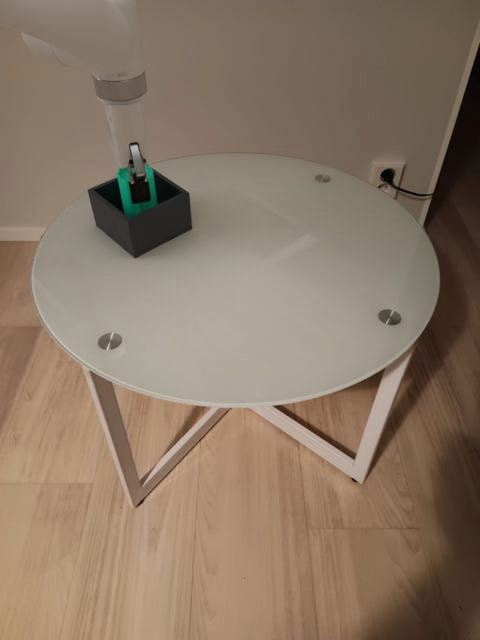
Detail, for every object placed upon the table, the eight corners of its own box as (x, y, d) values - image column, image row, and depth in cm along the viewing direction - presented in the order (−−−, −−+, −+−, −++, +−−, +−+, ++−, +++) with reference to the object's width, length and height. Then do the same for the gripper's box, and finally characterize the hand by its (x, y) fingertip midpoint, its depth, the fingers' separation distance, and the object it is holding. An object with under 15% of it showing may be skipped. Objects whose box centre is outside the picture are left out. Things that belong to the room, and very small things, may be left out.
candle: (120, 229, 91) (108, 168, 83) (137, 211, 95) (127, 151, 87) (149, 237, 90) (140, 176, 81) (165, 218, 94) (158, 158, 85)
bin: (134, 258, 87) (127, 221, 82) (95, 225, 94) (87, 189, 88) (192, 228, 93) (189, 192, 87) (152, 199, 99) (147, 164, 94)
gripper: (86, 66, 79) (107, 170, 92) (103, 112, 68) (125, 223, 81) (134, 60, 81) (148, 163, 94) (158, 105, 70) (171, 215, 83)
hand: (137, 190), depth 88 cm, fingers closed on candle, 5 cm apart
